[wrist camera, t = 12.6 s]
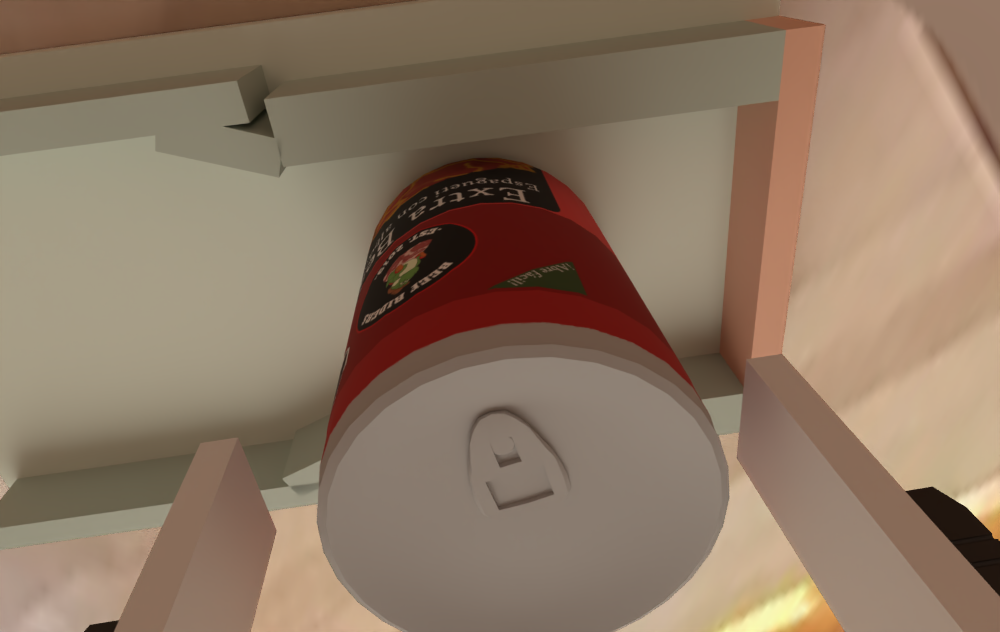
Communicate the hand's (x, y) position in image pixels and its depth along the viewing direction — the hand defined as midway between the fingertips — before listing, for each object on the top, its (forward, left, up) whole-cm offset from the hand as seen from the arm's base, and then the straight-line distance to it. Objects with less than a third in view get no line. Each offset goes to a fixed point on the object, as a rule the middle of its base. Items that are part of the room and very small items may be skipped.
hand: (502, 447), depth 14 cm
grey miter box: (-5, 0, -10) cm, 11 cm away
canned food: (0, 0, -9) cm, 9 cm away
